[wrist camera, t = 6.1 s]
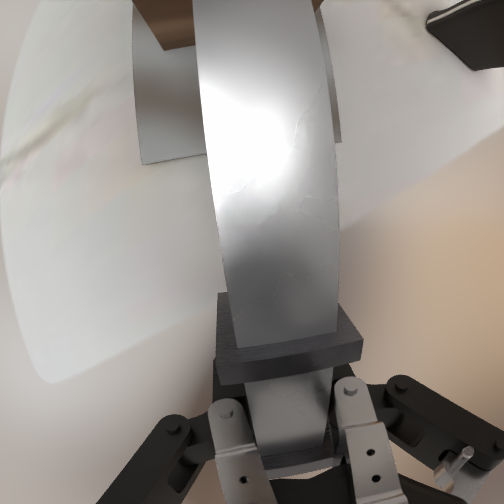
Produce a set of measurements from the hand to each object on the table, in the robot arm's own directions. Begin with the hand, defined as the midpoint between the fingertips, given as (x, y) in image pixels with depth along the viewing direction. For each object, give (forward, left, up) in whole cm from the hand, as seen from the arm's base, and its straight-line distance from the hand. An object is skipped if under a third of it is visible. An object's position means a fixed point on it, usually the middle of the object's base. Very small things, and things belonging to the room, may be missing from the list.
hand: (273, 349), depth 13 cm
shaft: (-6, 0, +1) cm, 7 cm away
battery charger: (-20, +20, -7) cm, 29 cm away
